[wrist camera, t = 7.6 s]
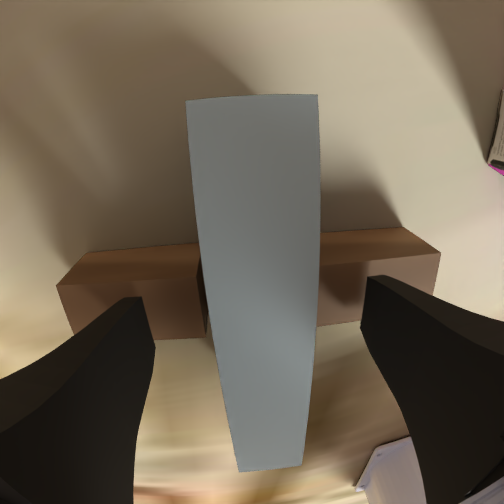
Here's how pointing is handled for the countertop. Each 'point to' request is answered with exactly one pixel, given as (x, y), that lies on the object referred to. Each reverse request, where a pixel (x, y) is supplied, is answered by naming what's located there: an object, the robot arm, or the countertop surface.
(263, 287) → the tapered grey panel
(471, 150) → the countertop surface
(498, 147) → the candy bar box
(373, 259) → the walnut slat
